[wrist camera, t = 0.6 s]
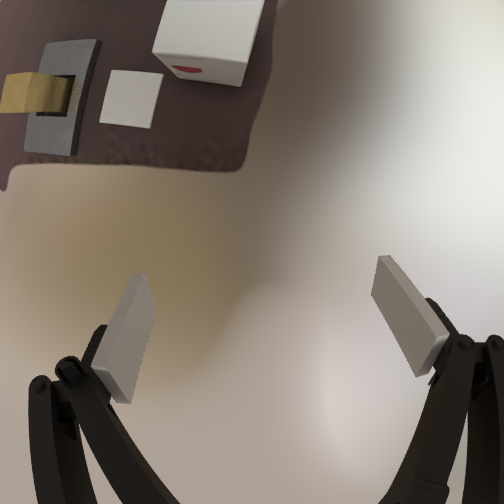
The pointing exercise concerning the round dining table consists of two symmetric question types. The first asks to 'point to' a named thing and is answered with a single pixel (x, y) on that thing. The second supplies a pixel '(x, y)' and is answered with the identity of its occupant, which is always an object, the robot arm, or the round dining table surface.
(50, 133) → the grey metal slotted plate
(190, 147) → the round dining table surface
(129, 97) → the mat
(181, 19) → the supplement box
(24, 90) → the gold metal column
